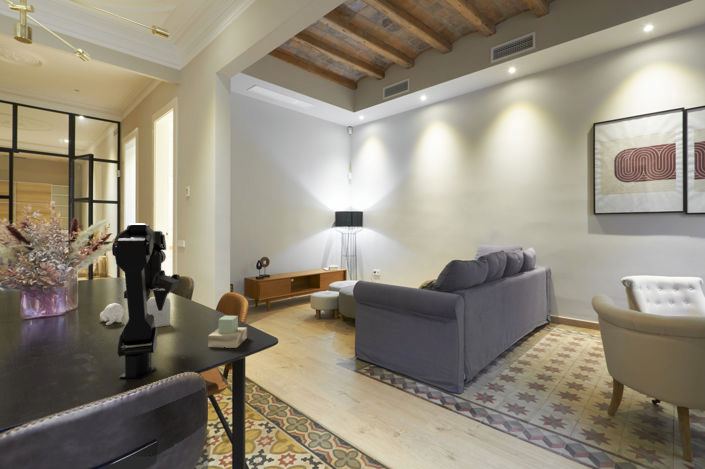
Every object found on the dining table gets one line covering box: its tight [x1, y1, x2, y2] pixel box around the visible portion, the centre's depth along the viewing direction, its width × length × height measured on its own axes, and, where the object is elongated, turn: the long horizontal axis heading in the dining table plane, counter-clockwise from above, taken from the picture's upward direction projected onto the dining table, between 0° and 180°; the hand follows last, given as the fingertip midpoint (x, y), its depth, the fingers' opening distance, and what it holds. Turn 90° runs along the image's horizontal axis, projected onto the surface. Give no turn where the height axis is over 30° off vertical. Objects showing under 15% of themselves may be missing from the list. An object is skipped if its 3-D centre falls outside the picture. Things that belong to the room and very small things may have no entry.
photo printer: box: [147, 296, 171, 328], centre depth 136 cm, size 10×4×12 cm, turn 123°
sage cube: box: [217, 315, 239, 334], centre depth 118 cm, size 5×5×5 cm
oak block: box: [207, 326, 248, 349], centre depth 119 cm, size 10×10×4 cm
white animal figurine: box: [99, 302, 125, 326], centre depth 141 cm, size 6×8×12 cm
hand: (151, 314), depth 111 cm, fingers open, 9 cm apart
